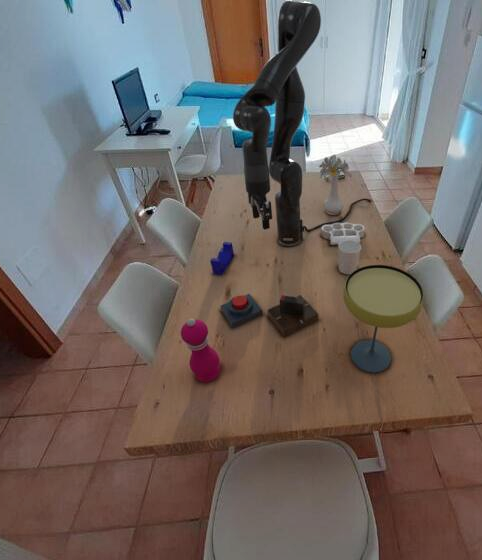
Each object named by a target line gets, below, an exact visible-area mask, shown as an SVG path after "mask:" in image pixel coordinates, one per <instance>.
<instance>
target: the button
mask: <svg viewBox="0 0 482 560" xmlns="http://www.w3.org/2000/svg"><path fill="white" fill-rule="evenodd" d="M234 297H235V298H234ZM234 297H233V298H234V299H233V300H232V303H233V307H234V308H235V309H243V308H245V307H246V306H247V305H248V302H247V298H246V297H245V296H241V295H236V296H234Z"/></svg>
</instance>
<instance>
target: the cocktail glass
mask: <svg viewBox="0 0 482 560" xmlns="http://www.w3.org/2000/svg"><path fill="white" fill-rule="evenodd" d="M342 296H343V302H344V304H345V307H346V308H347V311H349V313H350V314H351V315H352V316H353V317H354V318H356V319H357V320H359V321H360V322H362V323H364V324H366V325H369V326H372V327H374V331H373V336H372V339H365V340H360V341H358V342H357V343H355V344H354V345H353V347H352V349H351V353H350V357H351V359H352V362H353V363H354V364H355V366H356V367H357V368H359V369H360V370H362V371H364V372H367V373H373V374H374V373H380V372H383V371H384V370H387V369H388V367H389V366H390V364H391V360H392V357H391V353H390V351H389V349H388V348H387V347H386V346H385V345H384V344H383V343H381V342H379V341H377V340H376V338H377V333H378V328H381V329H394V328H395V329H396V328H399V327H404V326H405V325H408V324H409V323H411V322H413V321H414V320H416V318H417V317H418V316H419V314H420V313H421V311H422V308H423V305H424V299H425V294H424V290H423V287H422V284H421V283H420V282H419V281H418V279H416V278H415V277H414V276H413V275H412V274H410V273H409V272H407V271H405V270H403V269H401V268H398V267H395V266H392V265H386V264H369V265H365V266H362V267H359V268H357V270H355V271H354V272H352V273H351V274H348V276H347V278H346V280H345V282H344V286H343V295H342Z"/></svg>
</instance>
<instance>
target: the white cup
mask: <svg viewBox="0 0 482 560" xmlns="http://www.w3.org/2000/svg"><path fill="white" fill-rule="evenodd" d="M361 249H362V245H361V243H360V244H359V243H358V242H356V241H353V240H345V241H342V242H340V243H339V245H337V258H338V259H337V263H338V271H339V272H340V273H342V274H344V275H350V274H351V273H352V272H354V271H355V270H357V269H358V265H359V262H360V256H361V251H362V250H361Z"/></svg>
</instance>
